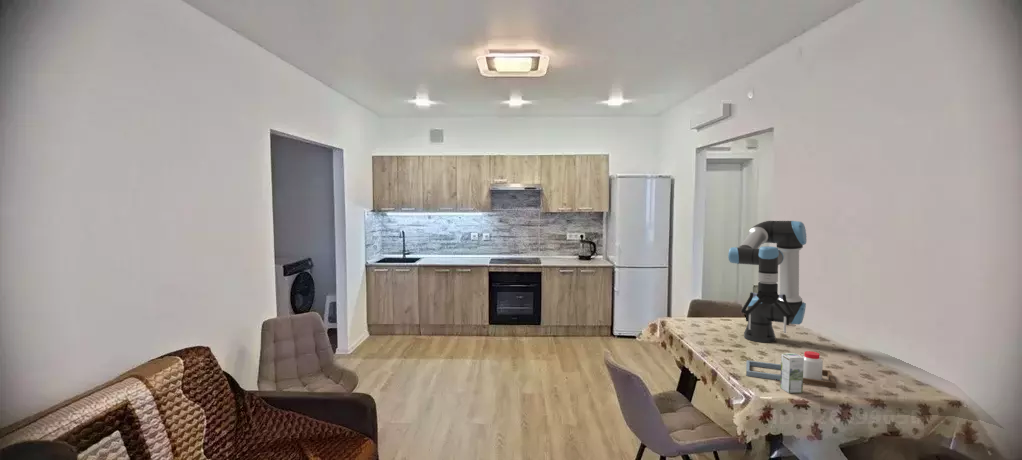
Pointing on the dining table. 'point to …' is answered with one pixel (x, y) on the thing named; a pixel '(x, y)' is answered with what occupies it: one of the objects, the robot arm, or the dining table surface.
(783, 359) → the syrup box
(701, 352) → the dining table surface
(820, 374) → the pill bottle
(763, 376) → the slate frame
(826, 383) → the walnut frame
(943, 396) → the dining table surface
